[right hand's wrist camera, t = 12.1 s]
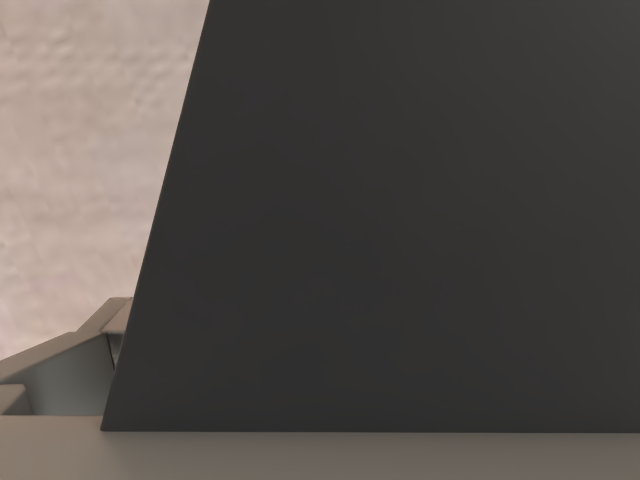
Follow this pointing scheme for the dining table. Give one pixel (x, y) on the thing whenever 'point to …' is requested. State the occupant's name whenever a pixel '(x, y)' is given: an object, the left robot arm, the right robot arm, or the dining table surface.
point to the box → (396, 224)
